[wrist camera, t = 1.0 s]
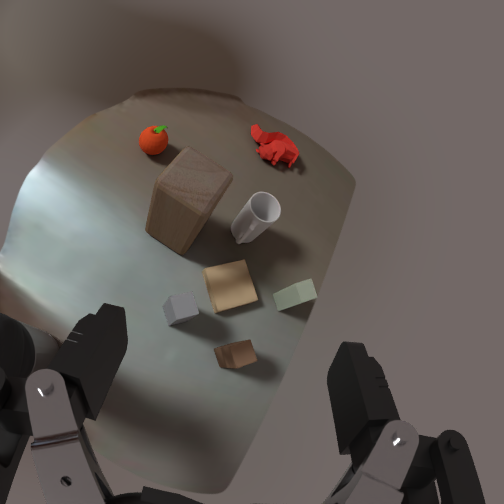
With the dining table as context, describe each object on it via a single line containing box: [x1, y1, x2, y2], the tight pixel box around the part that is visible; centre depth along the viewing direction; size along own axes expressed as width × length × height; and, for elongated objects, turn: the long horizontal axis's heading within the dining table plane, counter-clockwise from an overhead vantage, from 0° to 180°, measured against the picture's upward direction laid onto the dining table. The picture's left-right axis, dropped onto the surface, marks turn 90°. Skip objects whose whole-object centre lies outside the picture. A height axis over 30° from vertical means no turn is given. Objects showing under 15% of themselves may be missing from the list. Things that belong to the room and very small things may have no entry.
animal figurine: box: [251, 124, 299, 168], centre depth 80 cm, size 12×15×5 cm
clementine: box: [139, 126, 168, 155], centre depth 65 cm, size 8×7×7 cm
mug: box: [231, 192, 281, 244], centre depth 64 cm, size 10×7×12 cm, turn 151°
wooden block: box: [145, 146, 233, 255], centre depth 55 cm, size 10×10×20 cm
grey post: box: [163, 291, 199, 326], centre depth 54 cm, size 4×4×10 cm
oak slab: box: [202, 259, 258, 313], centre depth 63 cm, size 9×9×3 cm
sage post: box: [273, 279, 317, 311], centre depth 64 cm, size 4×4×10 cm
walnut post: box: [214, 340, 257, 368], centre depth 55 cm, size 4×4×10 cm
